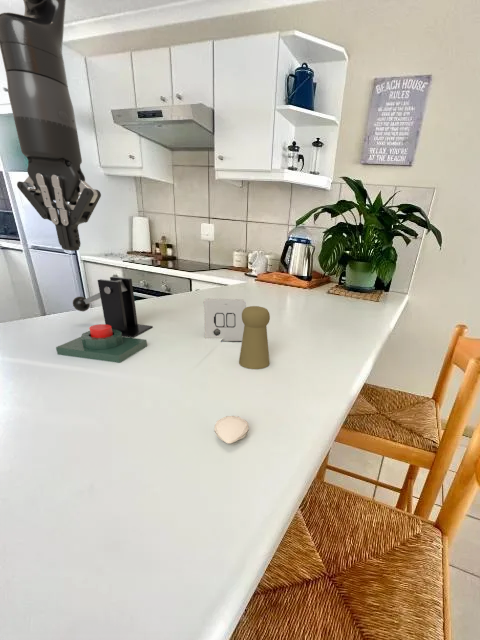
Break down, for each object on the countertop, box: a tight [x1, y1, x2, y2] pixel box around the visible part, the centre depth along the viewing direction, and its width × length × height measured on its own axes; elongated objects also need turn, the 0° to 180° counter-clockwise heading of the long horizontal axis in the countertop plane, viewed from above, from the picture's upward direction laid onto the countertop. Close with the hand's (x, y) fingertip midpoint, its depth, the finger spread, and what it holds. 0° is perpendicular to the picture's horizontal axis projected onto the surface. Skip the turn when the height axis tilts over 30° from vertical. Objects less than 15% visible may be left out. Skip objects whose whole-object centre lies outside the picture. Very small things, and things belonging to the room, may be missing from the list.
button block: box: [55, 329, 148, 364], centre depth 61 cm, size 12×9×4 cm
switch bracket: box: [97, 276, 154, 338], centre depth 70 cm, size 10×8×12 cm
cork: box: [238, 305, 271, 370], centre depth 61 cm, size 6×6×11 cm
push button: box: [88, 323, 113, 338], centre depth 60 cm, size 4×4×2 cm
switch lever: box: [72, 280, 127, 312], centre depth 70 cm, size 13×3×3 cm, turn 82°
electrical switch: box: [203, 297, 247, 342], centre depth 73 cm, size 9×5×9 cm, turn 102°
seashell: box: [213, 415, 249, 445], centre depth 40 cm, size 4×5×2 cm
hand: (70, 249), depth 55 cm, fingers closed
